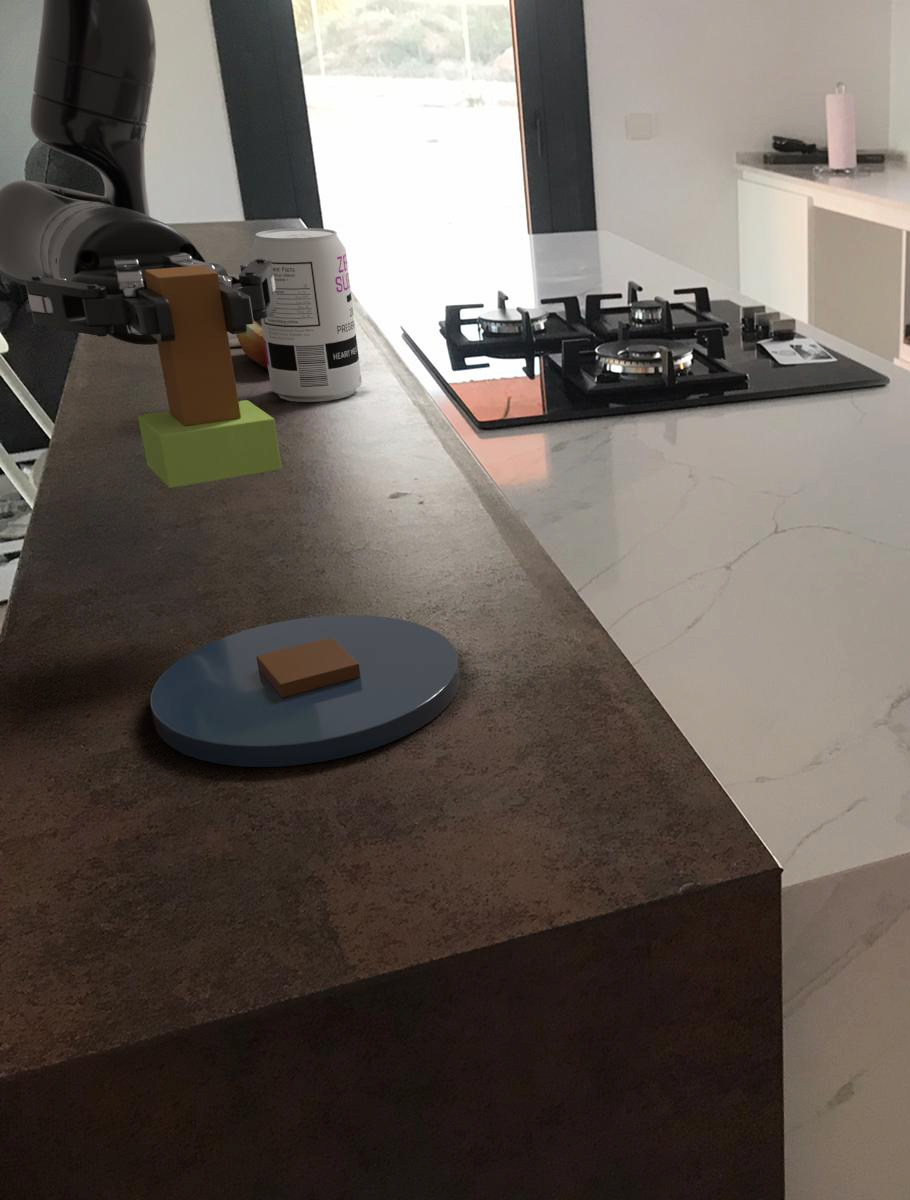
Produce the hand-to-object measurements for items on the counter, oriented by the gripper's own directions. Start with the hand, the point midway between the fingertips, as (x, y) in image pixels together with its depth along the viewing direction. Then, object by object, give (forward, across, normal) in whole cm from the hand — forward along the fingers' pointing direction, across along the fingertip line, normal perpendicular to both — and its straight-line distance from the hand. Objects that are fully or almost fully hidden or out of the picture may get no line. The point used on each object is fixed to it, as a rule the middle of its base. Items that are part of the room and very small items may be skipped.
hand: (202, 317), depth 67 cm
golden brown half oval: (-67, +21, +18) cm, 72 cm away
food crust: (+10, 0, +17) cm, 20 cm away
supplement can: (-52, +21, +18) cm, 59 cm away
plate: (+10, 0, +18) cm, 21 cm away
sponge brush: (-3, 0, +9) cm, 9 cm away
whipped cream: (-80, +21, +18) cm, 84 cm away
